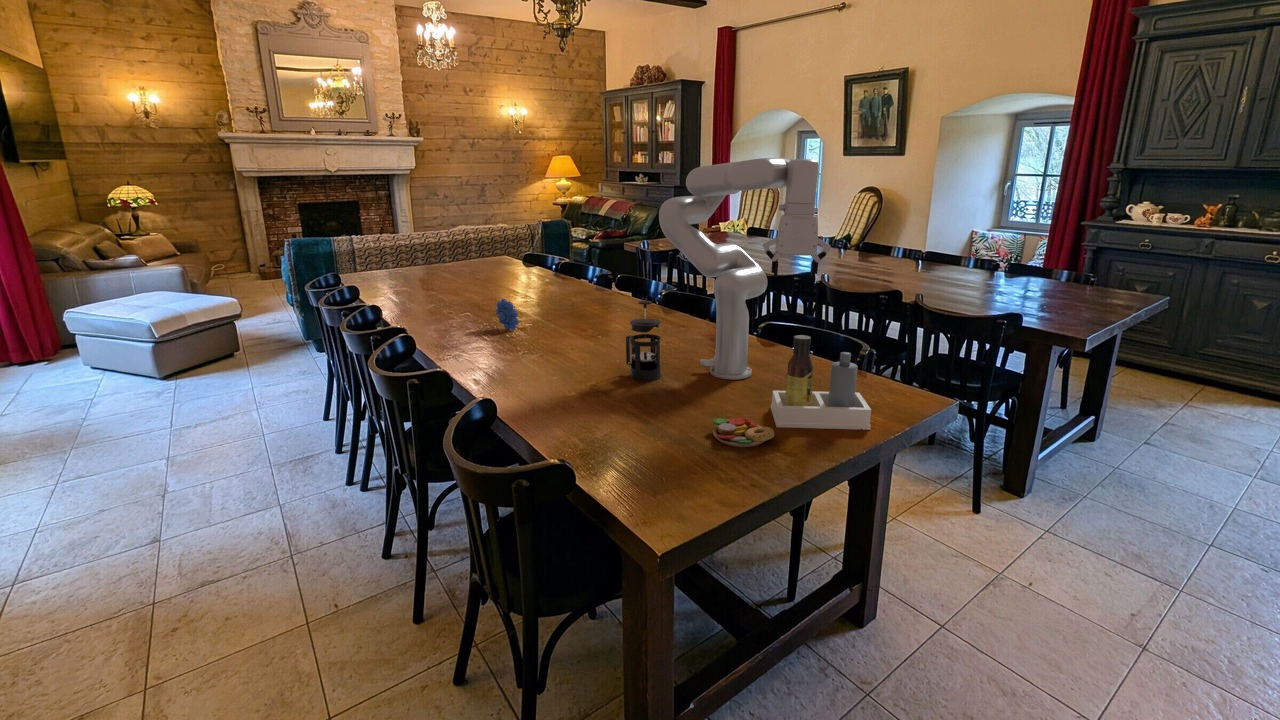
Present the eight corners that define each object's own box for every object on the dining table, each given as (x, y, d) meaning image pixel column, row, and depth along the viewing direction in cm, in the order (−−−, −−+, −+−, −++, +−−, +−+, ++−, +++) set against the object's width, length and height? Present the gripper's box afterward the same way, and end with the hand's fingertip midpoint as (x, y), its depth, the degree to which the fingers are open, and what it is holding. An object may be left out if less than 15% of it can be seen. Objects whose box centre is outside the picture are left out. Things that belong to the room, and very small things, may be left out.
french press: (668, 374, 183) (669, 300, 176) (652, 384, 176) (652, 306, 169) (636, 368, 189) (635, 296, 182) (619, 377, 182) (617, 302, 175)
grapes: (489, 329, 236) (487, 299, 232) (503, 326, 241) (500, 296, 237) (510, 334, 229) (507, 303, 226) (523, 330, 234) (521, 299, 231)
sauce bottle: (810, 419, 148) (817, 341, 141) (784, 418, 149) (789, 340, 143) (809, 409, 154) (815, 334, 148) (784, 408, 155) (789, 333, 149)
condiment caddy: (776, 427, 146) (780, 360, 141) (770, 408, 158) (774, 345, 152) (870, 429, 144) (878, 361, 139) (857, 410, 156) (864, 346, 150)
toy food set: (779, 446, 137) (780, 433, 136) (725, 454, 134) (726, 440, 133) (752, 423, 149) (753, 411, 148) (702, 430, 146) (703, 417, 145)
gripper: (766, 210, 153) (761, 278, 158) (836, 211, 151) (829, 279, 156) (764, 208, 160) (759, 272, 165) (831, 209, 158) (825, 274, 163)
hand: (793, 276), depth 161 cm, fingers open, 9 cm apart
